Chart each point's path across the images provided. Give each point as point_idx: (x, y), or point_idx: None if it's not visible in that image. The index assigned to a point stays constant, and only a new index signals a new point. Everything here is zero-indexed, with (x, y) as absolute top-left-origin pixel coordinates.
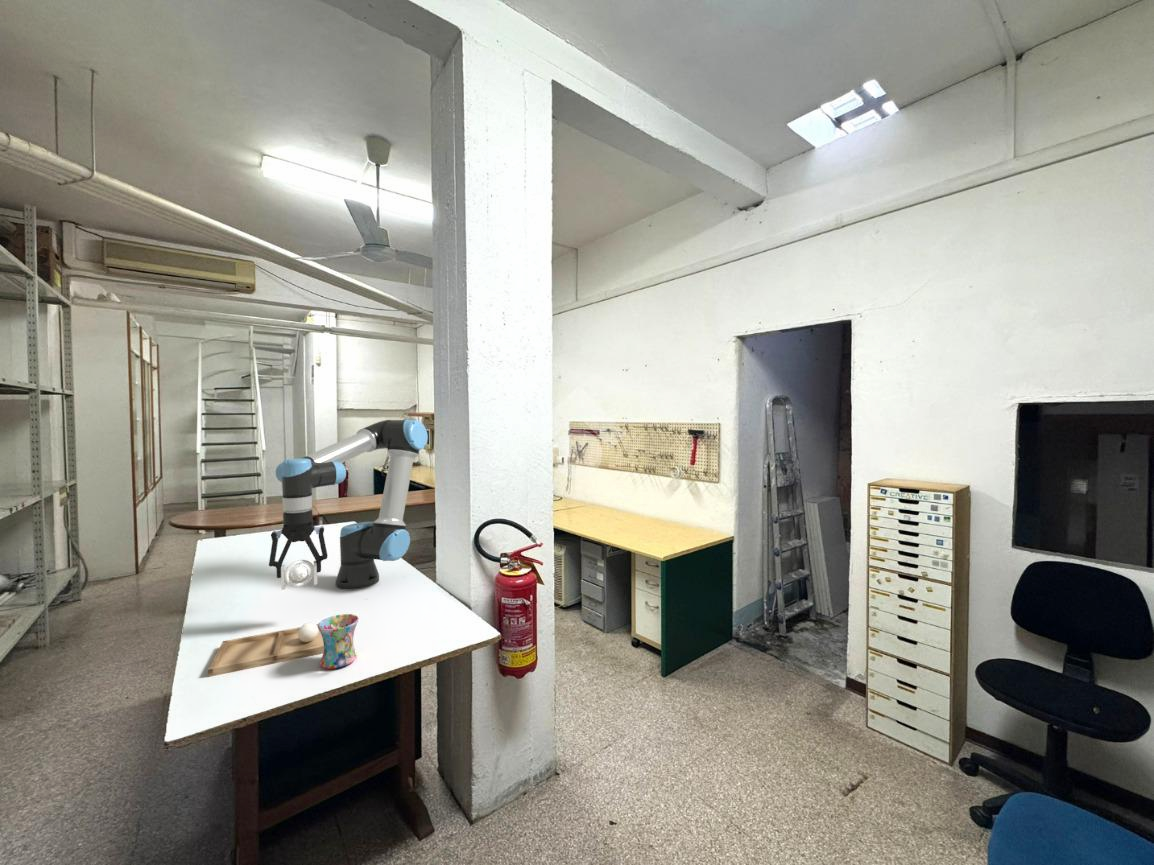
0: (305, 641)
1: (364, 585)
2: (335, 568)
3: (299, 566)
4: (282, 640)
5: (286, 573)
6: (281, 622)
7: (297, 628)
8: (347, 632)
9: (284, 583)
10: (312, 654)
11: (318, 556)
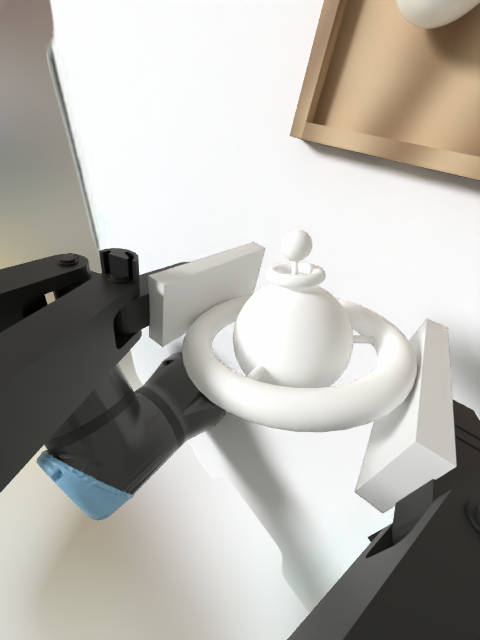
0: None
1: None
2: (210, 467)
3: (262, 363)
4: None
5: (398, 372)
6: (403, 333)
7: (429, 154)
8: None
9: (419, 343)
10: None
11: (78, 288)
